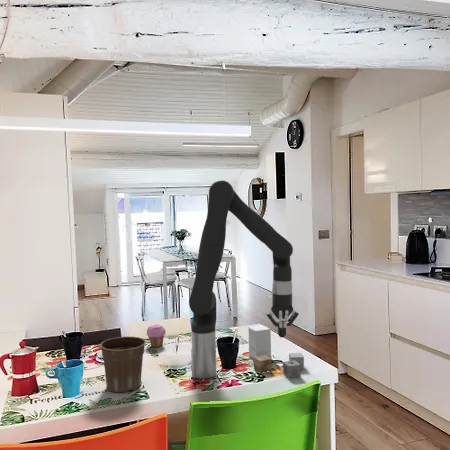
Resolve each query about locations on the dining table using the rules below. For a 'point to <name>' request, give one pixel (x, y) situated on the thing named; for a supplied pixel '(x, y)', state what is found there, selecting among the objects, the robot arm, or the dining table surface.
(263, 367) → the walnut block
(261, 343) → the supplement box
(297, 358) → the slate block
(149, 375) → the dining table surface
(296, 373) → the dice cube
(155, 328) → the cupcake
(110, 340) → the plant pot
